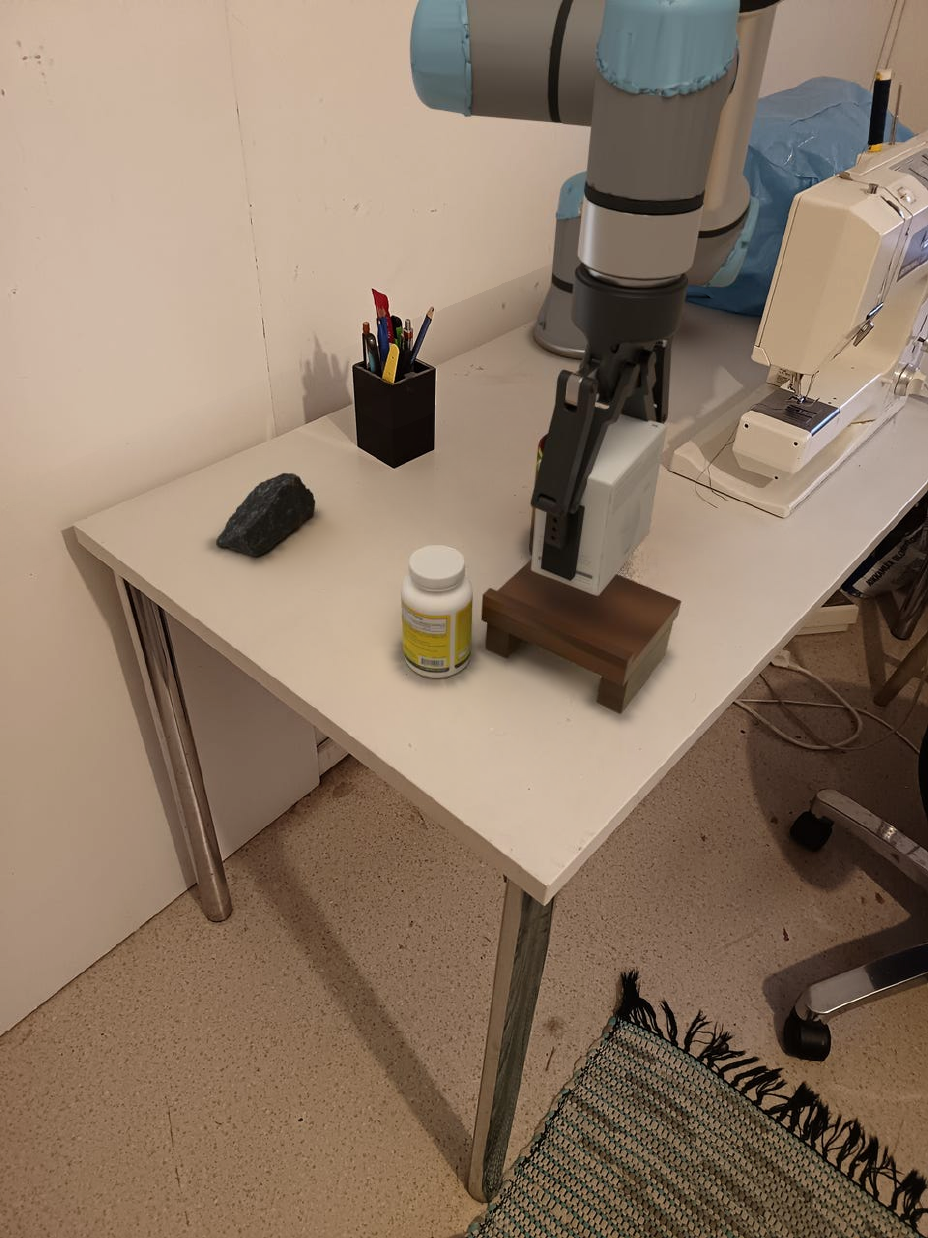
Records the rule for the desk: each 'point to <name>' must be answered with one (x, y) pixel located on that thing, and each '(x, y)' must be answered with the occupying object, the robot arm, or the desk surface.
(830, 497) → the desk surface
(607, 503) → the cosmetics box
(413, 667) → the pill bottle
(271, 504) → the rock
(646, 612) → the shelf
